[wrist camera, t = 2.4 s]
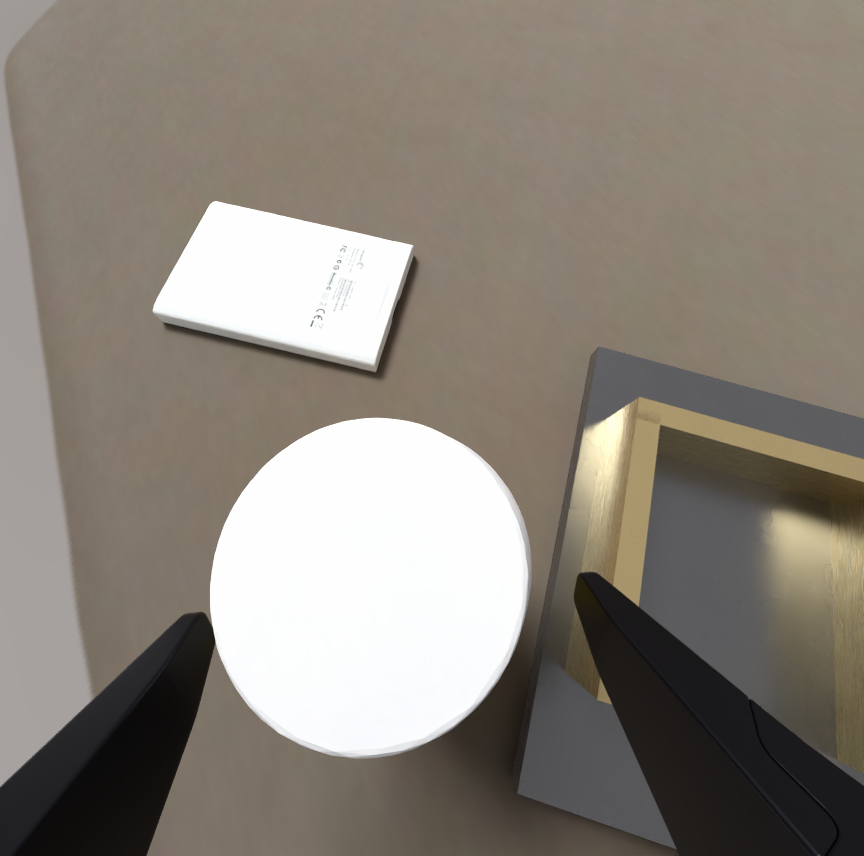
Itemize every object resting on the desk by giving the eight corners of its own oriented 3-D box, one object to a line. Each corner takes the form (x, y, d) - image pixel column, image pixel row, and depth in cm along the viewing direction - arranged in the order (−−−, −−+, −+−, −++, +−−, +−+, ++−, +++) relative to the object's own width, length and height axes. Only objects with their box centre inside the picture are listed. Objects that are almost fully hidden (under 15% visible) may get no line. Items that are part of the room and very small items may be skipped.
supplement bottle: (435, 458, 19) (461, 301, 7) (503, 581, 17) (701, 667, 5) (313, 522, 18) (81, 474, 6) (373, 660, 16) (230, 1008, 4)
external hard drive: (226, 220, 24) (414, 261, 23) (168, 328, 22) (377, 377, 21) (213, 197, 22) (413, 241, 22) (149, 310, 20) (373, 363, 19)
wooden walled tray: (866, 901, 14) (1028, 1031, 10) (511, 778, 15) (541, 856, 11) (846, 425, 20) (945, 397, 16) (590, 355, 21) (628, 313, 17)
